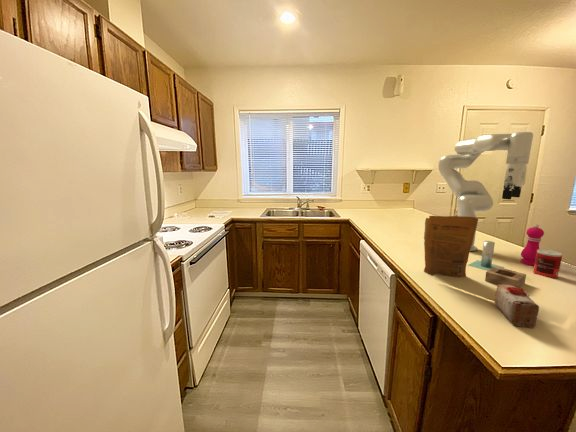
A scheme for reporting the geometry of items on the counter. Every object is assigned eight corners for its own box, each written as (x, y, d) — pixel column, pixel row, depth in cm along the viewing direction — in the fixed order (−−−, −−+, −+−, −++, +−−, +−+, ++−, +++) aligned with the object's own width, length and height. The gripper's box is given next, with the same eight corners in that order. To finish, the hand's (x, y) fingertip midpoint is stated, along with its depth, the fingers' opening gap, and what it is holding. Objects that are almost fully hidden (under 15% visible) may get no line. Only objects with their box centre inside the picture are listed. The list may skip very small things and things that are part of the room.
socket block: (484, 283, 104) (486, 271, 103) (494, 276, 109) (495, 266, 108) (515, 292, 96) (517, 280, 95) (524, 285, 101) (526, 274, 100)
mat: (467, 267, 120) (467, 265, 120) (477, 261, 126) (477, 260, 126) (495, 275, 111) (495, 273, 111) (504, 269, 117) (504, 267, 117)
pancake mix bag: (471, 283, 104) (480, 218, 98) (420, 274, 113) (425, 215, 108) (469, 277, 110) (477, 215, 104) (420, 269, 119) (425, 212, 113)
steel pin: (489, 268, 116) (492, 243, 113) (479, 265, 119) (482, 241, 116) (492, 266, 118) (496, 242, 115) (482, 263, 121) (486, 240, 119)
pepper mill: (543, 267, 118) (551, 226, 114) (526, 266, 119) (533, 226, 115) (532, 261, 125) (539, 222, 121) (516, 260, 126) (522, 222, 122)
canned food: (550, 272, 112) (554, 249, 109) (562, 280, 104) (567, 256, 102) (528, 271, 114) (532, 248, 112) (539, 278, 107) (544, 254, 105)
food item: (490, 303, 90) (494, 277, 88) (517, 306, 87) (522, 280, 85) (509, 325, 77) (514, 296, 75) (541, 330, 74) (547, 301, 72)
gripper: (520, 161, 105) (513, 201, 108) (535, 160, 113) (528, 197, 117) (498, 161, 111) (492, 199, 115) (514, 160, 119) (508, 195, 123)
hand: (510, 198), depth 116 cm, fingers open, 9 cm apart
